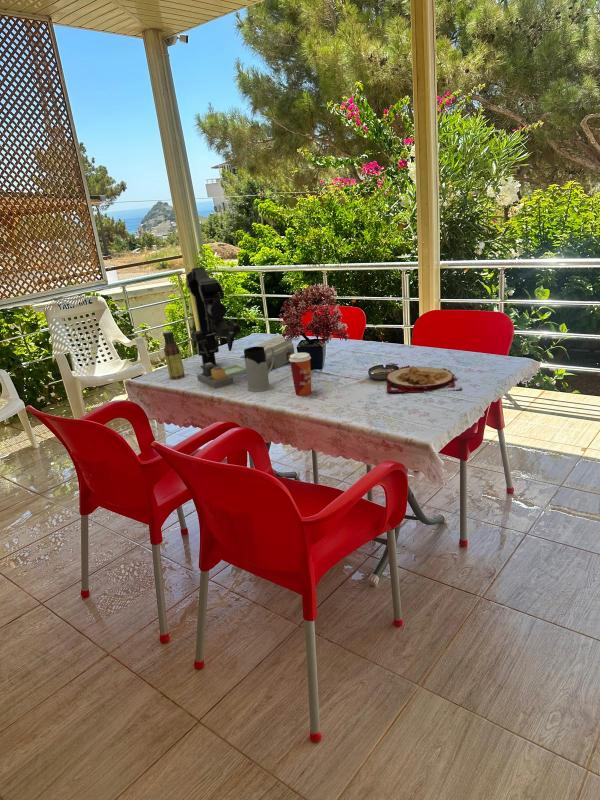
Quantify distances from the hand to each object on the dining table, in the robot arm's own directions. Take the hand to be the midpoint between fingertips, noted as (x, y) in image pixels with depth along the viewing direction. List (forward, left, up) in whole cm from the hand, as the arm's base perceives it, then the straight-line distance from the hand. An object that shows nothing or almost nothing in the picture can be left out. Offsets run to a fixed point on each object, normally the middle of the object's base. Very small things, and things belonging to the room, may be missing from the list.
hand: (219, 353), depth 215 cm
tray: (-8, +8, -12) cm, 16 cm away
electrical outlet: (-3, +25, -12) cm, 28 cm away
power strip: (-1, -3, -12) cm, 12 cm away
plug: (+2, -3, -11) cm, 12 cm away
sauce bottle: (-21, -11, -12) cm, 27 cm away
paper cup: (+37, +13, -12) cm, 41 cm away
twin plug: (-5, -3, -11) cm, 13 cm away
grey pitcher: (+18, +8, -12) cm, 23 cm away
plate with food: (+59, +49, -12) cm, 77 cm away
